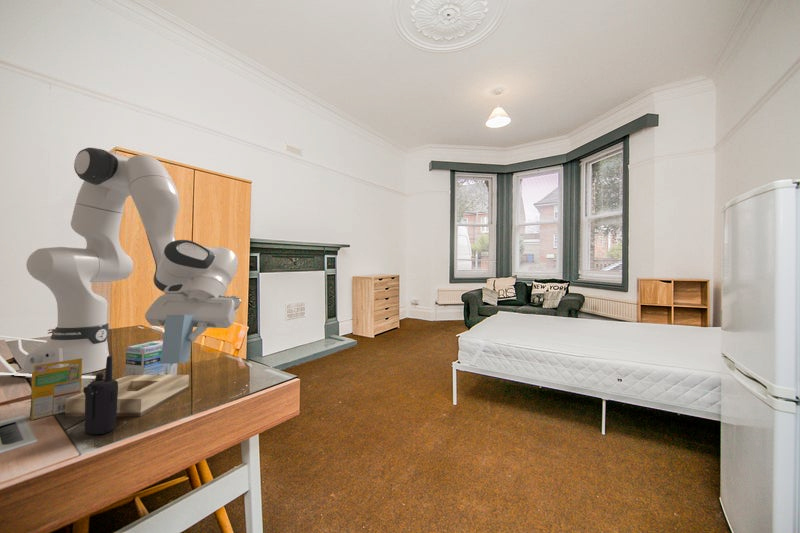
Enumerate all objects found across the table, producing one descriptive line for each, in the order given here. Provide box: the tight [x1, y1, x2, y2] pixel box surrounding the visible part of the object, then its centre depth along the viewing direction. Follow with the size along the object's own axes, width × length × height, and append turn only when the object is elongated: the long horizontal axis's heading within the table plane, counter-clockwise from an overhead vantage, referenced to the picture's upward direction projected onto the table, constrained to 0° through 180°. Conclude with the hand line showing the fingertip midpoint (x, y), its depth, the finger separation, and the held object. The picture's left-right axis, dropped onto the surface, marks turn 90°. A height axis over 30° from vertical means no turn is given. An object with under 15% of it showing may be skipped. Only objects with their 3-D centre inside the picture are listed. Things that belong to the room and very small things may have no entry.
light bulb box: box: [124, 339, 178, 376], centre depth 89 cm, size 11×7×11 cm, turn 168°
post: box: [160, 315, 194, 364], centre depth 71 cm, size 4×4×11 cm
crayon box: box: [29, 358, 83, 421], centre depth 67 cm, size 7×3×12 cm, turn 145°
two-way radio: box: [82, 355, 118, 435], centre depth 59 cm, size 6×4×15 cm
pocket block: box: [64, 374, 190, 418], centre depth 74 cm, size 16×16×4 cm
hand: (177, 340), depth 71 cm, fingers closed on post, 4 cm apart
